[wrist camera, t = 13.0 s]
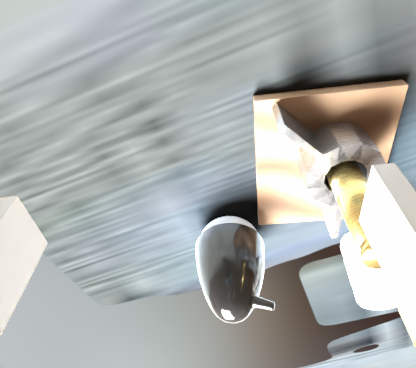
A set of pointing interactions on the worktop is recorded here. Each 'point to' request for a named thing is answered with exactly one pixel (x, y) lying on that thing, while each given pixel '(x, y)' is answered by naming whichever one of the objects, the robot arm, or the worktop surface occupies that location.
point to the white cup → (366, 279)
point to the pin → (352, 204)
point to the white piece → (327, 157)
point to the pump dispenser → (231, 268)
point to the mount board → (313, 119)
